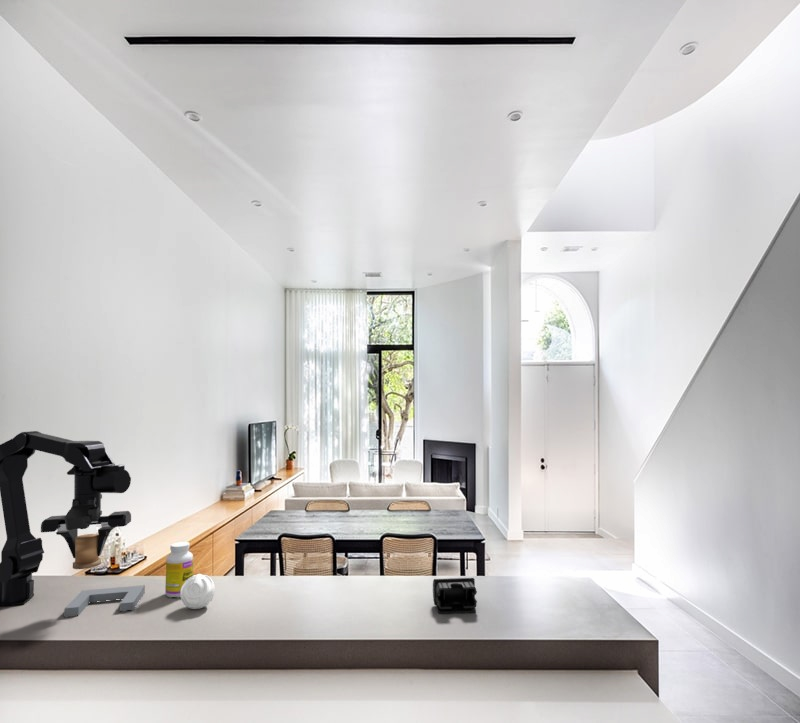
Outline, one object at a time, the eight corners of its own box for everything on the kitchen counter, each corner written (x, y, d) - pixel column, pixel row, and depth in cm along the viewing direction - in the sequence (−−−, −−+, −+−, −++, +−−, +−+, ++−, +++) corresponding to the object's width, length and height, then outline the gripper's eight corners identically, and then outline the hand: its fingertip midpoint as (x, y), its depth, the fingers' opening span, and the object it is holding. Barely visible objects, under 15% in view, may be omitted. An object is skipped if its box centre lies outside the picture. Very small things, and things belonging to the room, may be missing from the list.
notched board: (64, 617, 127) (64, 608, 127) (81, 598, 139) (82, 590, 139) (133, 610, 131) (133, 602, 131) (144, 592, 142) (144, 585, 142)
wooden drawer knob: (68, 570, 129) (69, 540, 129) (77, 562, 135) (78, 534, 135) (96, 567, 130) (96, 538, 131) (104, 560, 136) (104, 532, 136)
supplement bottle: (182, 599, 137) (183, 548, 138) (159, 597, 139) (160, 547, 140) (197, 590, 144) (198, 541, 145) (175, 588, 145) (176, 540, 146)
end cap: (472, 601, 135) (472, 574, 135) (478, 613, 127) (478, 584, 128) (432, 603, 134) (432, 575, 134) (436, 614, 127) (436, 585, 127)
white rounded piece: (175, 614, 128) (176, 581, 128) (185, 602, 136) (186, 571, 136) (210, 613, 129) (210, 580, 129) (218, 601, 136) (218, 569, 137)
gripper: (30, 501, 124) (29, 570, 123) (119, 495, 128) (118, 562, 127) (50, 493, 135) (50, 556, 134) (131, 488, 139) (131, 550, 138)
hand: (87, 556), depth 133 cm, fingers closed on wooden drawer knob, 5 cm apart
